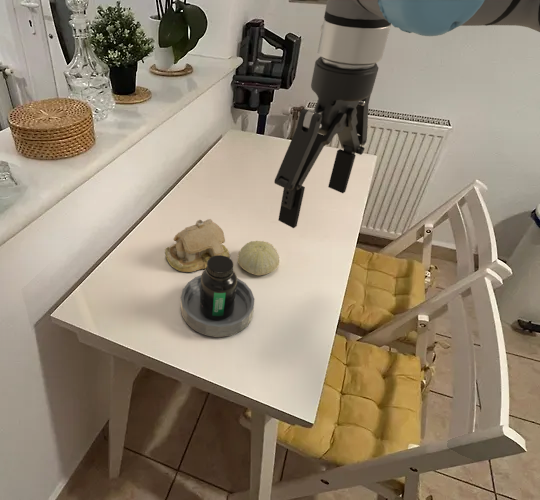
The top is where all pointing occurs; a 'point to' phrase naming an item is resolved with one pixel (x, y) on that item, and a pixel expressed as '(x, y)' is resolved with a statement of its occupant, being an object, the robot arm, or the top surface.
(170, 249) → the ceramic model
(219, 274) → the supplement bottle
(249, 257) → the sea urchin shell
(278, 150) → the top surface
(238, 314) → the dish
